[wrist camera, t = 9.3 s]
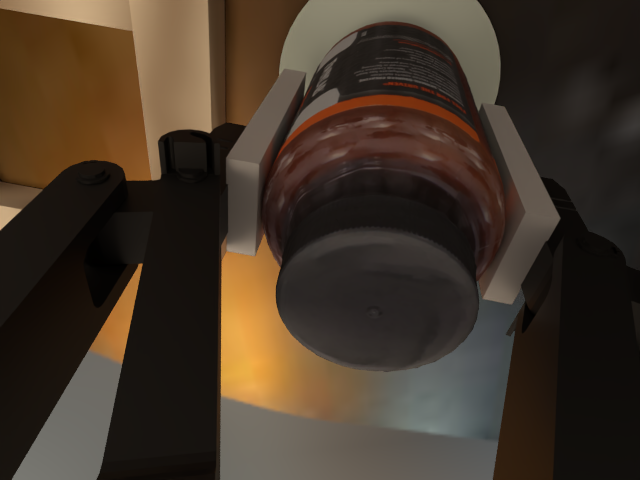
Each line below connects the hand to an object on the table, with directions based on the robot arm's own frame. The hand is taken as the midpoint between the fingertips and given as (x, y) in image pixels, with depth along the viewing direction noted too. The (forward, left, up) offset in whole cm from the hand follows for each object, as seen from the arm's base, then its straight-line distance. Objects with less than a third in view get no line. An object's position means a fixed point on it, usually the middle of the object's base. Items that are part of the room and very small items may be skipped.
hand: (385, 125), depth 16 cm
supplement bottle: (0, 0, -3) cm, 3 cm away
